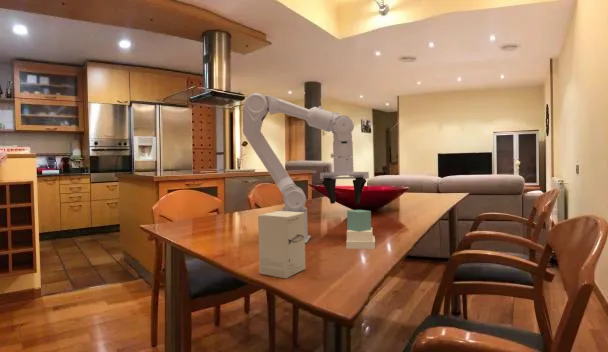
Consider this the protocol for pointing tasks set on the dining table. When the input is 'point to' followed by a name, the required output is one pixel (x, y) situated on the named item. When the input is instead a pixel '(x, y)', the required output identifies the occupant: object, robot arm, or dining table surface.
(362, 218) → the teal block
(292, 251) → the supplement box
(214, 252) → the dining table surface
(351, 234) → the top slab
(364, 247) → the bottom slab
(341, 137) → the robot arm
